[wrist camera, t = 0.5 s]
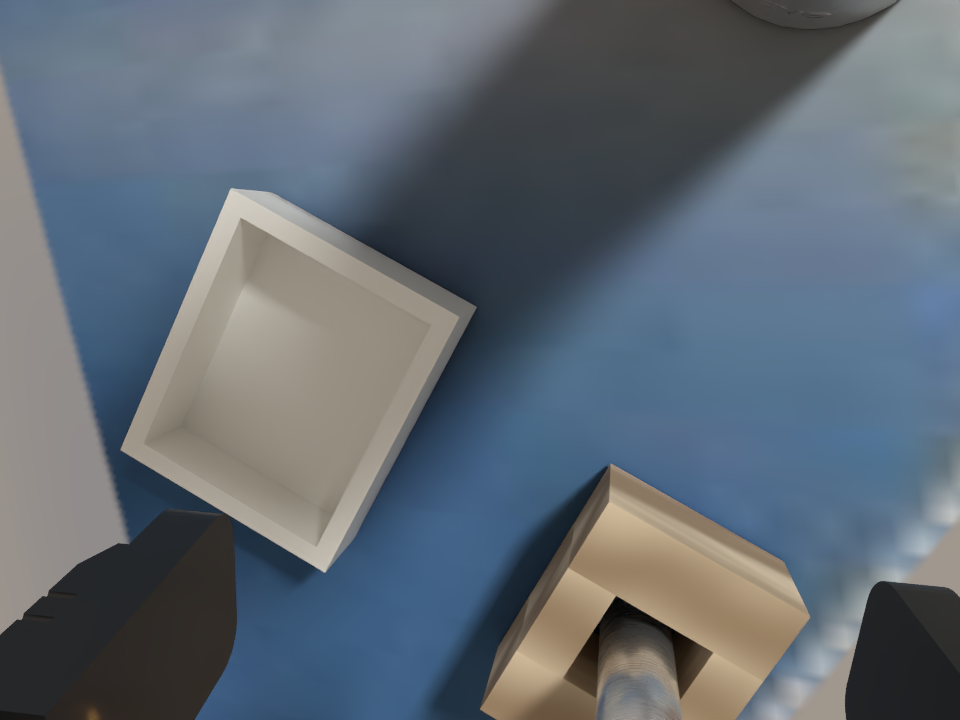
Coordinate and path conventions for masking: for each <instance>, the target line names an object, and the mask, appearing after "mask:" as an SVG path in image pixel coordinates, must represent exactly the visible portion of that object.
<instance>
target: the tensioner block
mask: <svg viewBox="0 0 960 720" xmlns="http://www.w3.org/2000/svg"><path fill="white" fill-rule="evenodd" d="M616 596H617V597H619V598H621V599H623V600H624V601H626V602H628V603H629V604H631V605H633V606H635V607H636V608H638V609H640V610H641V611H643V612H645V613H647V614H648V615H650V616H652V617H653V618H655V619H657V620H659V621H660V622H662V623H664V624H665V625H667V626H669V627H671V628H672V629H674V630H676V631H675V632H674V634H673V635H672V642H673V650H674V658H675V666H676V674H677V682H678V689H679V697H680V705H681V713H682V720H735V719H736V718H737V717H738V715H739V714H740V712H741V711H742V710H743V708H744V707H745V706H746V704H747V703H748V702H749V700H750V699H751V697H752V696H753V695H754V693H755V692H756V691H757V689H758V688H759V687H760V685H761V684H762V682H763V681H764V680H765V678H766V677H767V676H768V674H769V673H770V672H771V670H772V669H773V667H774V666H775V665H776V663H777V662H778V661H779V659H780V658H781V656H782V655H783V654H784V652H785V651H786V650H787V648H788V647H789V646H790V644H791V643H792V641H793V640H794V639H795V637H796V636H797V635H798V633H799V632H800V631H801V629H802V628H803V626H804V625H805V624H806V622H807V621H808V620H809V618H810V615H809V613H808V611H807V609H806V607H805V605H804V603H803V601H802V598H801V596H800V594H799V592H798V590H797V588H796V586H795V584H794V582H793V580H792V578H791V576H790V574H789V572H788V570H787V568H786V566H785V564H784V562H783V561H782V560H780V559H778V558H776V557H775V556H773V555H771V554H769V553H768V552H766V551H764V550H762V549H761V548H759V547H757V546H755V545H754V544H752V543H750V542H748V541H746V540H745V539H743V538H741V537H739V536H738V535H736V534H734V533H732V532H731V531H729V530H727V529H725V528H724V527H722V526H720V525H718V524H717V523H715V522H713V521H711V520H710V519H708V518H706V517H704V516H703V515H701V514H699V513H697V512H695V511H694V510H692V509H690V508H688V507H687V506H685V505H683V504H681V503H680V502H678V501H676V500H674V499H673V498H671V497H669V496H667V495H666V494H664V493H662V492H660V491H659V490H657V489H655V488H653V487H651V486H650V485H648V484H646V483H644V482H643V481H641V480H639V479H637V478H636V477H634V476H632V475H630V474H629V473H627V472H625V471H623V470H622V469H620V468H618V467H616V466H615V465H613V464H610V465H609V467H608V469H607V470H606V472H605V473H604V475H603V477H602V478H601V480H600V482H599V483H598V485H597V487H596V488H595V490H594V491H593V493H592V495H591V496H590V498H589V500H588V501H587V503H586V504H585V506H584V508H583V509H582V511H581V513H580V514H579V516H578V517H577V519H576V521H575V522H574V524H573V526H572V527H571V529H570V531H569V532H568V534H567V535H566V537H565V539H564V540H563V542H562V544H561V545H560V547H559V548H558V550H557V552H556V553H555V555H554V557H553V558H552V560H551V562H550V563H549V565H548V566H547V568H546V570H545V571H544V573H543V575H542V576H541V578H540V579H539V581H538V583H537V584H536V586H535V588H534V589H533V591H532V593H531V594H530V596H529V597H528V599H527V601H526V602H525V604H524V606H523V607H522V609H521V610H520V612H519V614H518V615H517V617H516V619H515V620H514V622H513V624H512V625H511V627H510V628H509V630H508V632H507V633H506V635H505V637H504V638H503V640H502V641H501V643H500V645H499V646H498V649H497V652H496V656H495V659H494V663H493V666H492V670H491V673H490V677H489V680H488V684H487V687H486V690H485V694H484V697H483V701H482V704H481V708H480V710H482V711H483V712H485V713H487V714H488V715H490V716H491V717H493V718H495V719H496V720H595V719H596V698H597V678H598V657H599V637H600V636H599V635H598V634H596V633H594V632H593V631H594V629H595V628H596V626H597V624H598V623H599V621H600V620H601V618H602V617H603V615H604V614H605V612H606V611H607V609H608V607H609V606H610V604H611V603H612V601H613V600H614V598H615V597H616Z"/></svg>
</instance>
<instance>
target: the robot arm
mask: <svg viewBox="0 0 960 720" xmlns="http://www.w3.org/2000/svg"><path fill="white" fill-rule="evenodd" d="M731 1H732V2H734V3H735V4H737V5H738V6H740V7H741V8H743V9H744V10H746V11H747V12H749V13H750V14H752V15H753V16H755V17H757V18H760V19H763V20H765V21H768V22H771V23H773V24H776V25H779V26H784V27H792V28H799V29H820V28H832V27H838V26H842V25H845V24H849V23H852V22H855V21H859V20H862V19H865V18H867V17H869V16H871V15H873V14H875V13H877V12H879V11H881V10H883V9H885V8H887V7H889V6H890V5H892V4H894V3H895V2H896V1H897V0H731ZM236 626H237V608H236V581H235V554H234V532H233V525H232V522H231V519H230V518H229V516H228V515H226V514H218V513H208V512H198V511H188V510H178V509H167V510H165V511H163V512H162V513H161V514H160V515H159V516H158V517H157V518H156V519H155V520H154V521H153V522H152V523H151V524H150V525H148V526H147V527H146V528H145V529H144V530H143V531H142V532H141V533H140V534H139V535H138V536H137V537H136V538H135V539H134V540H133V541H132V542H131V543H130V544H119V543H118V544H116V545H115V546H112V547H110V548H109V549H106V550H105V551H103V552H101V553H99V554H97V555H95V556H93V557H91V558H89V559H87V560H85V561H83V562H81V563H79V564H78V565H76V566H75V567H74V568H73V569H72V570H71V571H70V572H69V573H68V574H67V575H65V576H64V577H63V578H62V579H61V580H60V581H59V582H58V583H57V584H56V585H55V586H53V587H52V588H51V589H50V590H49V593H48V596H47V597H44V596H43V597H41V598H40V599H39V600H38V601H37V602H36V603H35V604H34V605H33V606H31V607H30V608H29V609H28V610H27V611H26V612H25V613H24V616H23V619H22V620H16V621H15V622H14V623H13V624H12V625H11V626H9V628H7V629H6V630H5V631H4V632H3V633H2V634H1V635H0V720H195V718H196V716H197V715H198V713H199V711H200V710H201V708H202V706H203V705H204V703H205V701H206V700H207V698H208V697H209V695H210V693H211V692H212V690H213V688H214V687H215V685H216V683H217V682H218V680H219V678H220V677H221V675H222V673H223V672H224V670H225V668H226V666H227V663H228V661H229V658H230V655H231V652H232V649H233V644H234V640H235V634H236ZM845 712H846V720H960V597H959V596H958V595H957V594H956V593H955V592H954V591H952V590H951V589H949V588H945V587H937V586H927V585H916V584H906V583H896V582H886V581H881V582H878V583H877V584H876V585H874V587H873V588H872V590H871V592H870V594H869V597H868V600H867V604H866V608H865V612H864V616H863V620H862V625H861V629H860V633H859V637H858V641H857V645H856V649H855V653H854V658H853V662H852V666H851V670H850V674H849V678H848V682H847V687H846V695H845Z"/></svg>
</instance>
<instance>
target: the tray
mask: <svg viewBox="0 0 960 720" xmlns="http://www.w3.org/2000/svg"><path fill="white" fill-rule="evenodd" d="M476 308H477V307H476V306H474V305H472V304H471V303H469V302H467V301H465V300H464V299H462V298H460V297H458V296H456V295H455V294H453V293H451V292H449V291H447V290H446V289H444V288H442V287H440V286H439V285H437V284H435V283H433V282H431V281H430V280H428V279H426V278H424V277H422V276H421V275H419V274H417V273H415V272H413V271H412V270H410V269H408V268H406V267H405V266H403V265H401V264H399V263H397V262H396V261H394V260H392V259H390V258H388V257H387V256H385V255H383V254H381V253H380V252H378V251H376V250H374V249H372V248H371V247H369V246H367V245H365V244H363V243H362V242H360V241H358V240H356V239H354V238H353V237H351V236H349V235H347V234H346V233H344V232H342V231H340V230H338V229H337V228H335V227H333V226H331V225H329V224H328V223H326V222H324V221H322V220H321V219H319V218H317V217H315V216H313V215H312V214H310V213H308V212H306V211H304V210H303V209H301V208H299V207H297V206H296V205H294V204H292V203H290V202H288V201H287V200H285V199H283V198H281V197H279V196H278V195H276V194H274V193H272V192H262V191H252V190H241V189H230V192H229V194H228V197H227V199H226V201H225V204H224V206H223V208H222V211H221V213H220V215H219V218H218V220H217V223H216V225H215V227H214V230H213V232H212V234H211V237H210V239H209V242H208V244H207V246H206V249H205V251H204V253H203V256H202V258H201V260H200V263H199V265H198V268H197V270H196V272H195V275H194V277H193V279H192V282H191V284H190V286H189V289H188V291H187V294H186V296H185V298H184V301H183V303H182V305H181V308H180V310H179V312H178V315H177V317H176V320H175V322H174V324H173V327H172V329H171V331H170V334H169V336H168V338H167V341H166V343H165V346H164V348H163V350H162V353H161V355H160V357H159V360H158V362H157V364H156V367H155V369H154V372H153V374H152V376H151V379H150V381H149V383H148V386H147V388H146V390H145V393H144V395H143V398H142V400H141V402H140V405H139V407H138V409H137V412H136V414H135V416H134V419H133V421H132V424H131V426H130V428H129V431H128V433H127V435H126V438H125V440H124V442H123V445H122V447H121V451H123V452H124V453H126V454H128V455H129V456H131V457H133V458H134V459H136V460H138V461H139V462H141V463H143V464H144V465H146V466H148V467H149V468H151V469H153V470H154V471H156V472H158V473H159V474H161V475H163V476H164V477H166V478H168V479H169V480H171V481H173V482H174V483H176V484H178V485H179V486H181V487H183V488H184V489H186V490H188V491H189V492H191V493H193V494H194V495H196V496H198V497H199V498H201V499H203V500H204V501H206V502H208V503H209V504H211V505H213V506H214V507H216V508H218V509H219V510H221V511H223V512H224V513H226V514H228V515H229V516H231V517H233V518H234V519H236V520H238V521H239V522H241V523H243V524H244V525H246V526H248V527H249V528H251V529H253V530H254V531H256V532H258V533H259V534H261V535H263V536H264V537H266V538H268V539H269V540H271V541H273V542H274V543H276V544H278V545H279V546H281V547H283V548H284V549H286V550H288V551H290V552H291V553H293V554H295V555H296V556H298V557H300V558H301V559H303V560H305V561H306V562H308V563H310V564H311V565H313V566H315V567H316V568H318V569H320V570H321V571H323V572H326V571H327V570H328V569H329V568H330V566H331V565H332V564H333V563H334V562H335V561H336V559H337V558H338V557H339V556H340V555H341V553H342V552H343V551H344V550H345V549H346V548H347V546H348V545H349V544H350V543H351V542H352V541H353V539H354V538H355V536H356V534H357V532H358V531H359V529H360V527H361V525H362V523H363V521H364V519H365V517H366V515H367V514H368V512H369V510H370V508H371V506H372V504H373V502H374V500H375V498H376V497H377V495H378V493H379V491H380V489H381V487H382V485H383V483H384V481H385V480H386V478H387V476H388V474H389V472H390V470H391V468H392V466H393V464H394V463H395V461H396V459H397V457H398V455H399V453H400V451H401V449H402V448H403V446H404V444H405V442H406V440H407V438H408V436H409V434H410V432H411V431H412V429H413V427H414V425H415V423H416V421H417V419H418V417H419V415H420V414H421V412H422V410H423V408H424V406H425V404H426V402H427V400H428V398H429V397H430V395H431V393H432V391H433V389H434V387H435V385H436V383H437V381H438V380H439V378H440V376H441V374H442V372H443V370H444V368H445V366H446V364H447V363H448V361H449V359H450V357H451V355H452V353H453V351H454V349H455V348H456V346H457V344H458V342H459V340H460V338H461V336H462V334H463V332H464V331H465V329H466V327H467V325H468V323H469V321H470V319H471V317H472V315H473V314H474V312H475V310H476Z"/></svg>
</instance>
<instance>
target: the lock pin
mask: <svg viewBox="0 0 960 720" xmlns="http://www.w3.org/2000/svg"><path fill="white" fill-rule="evenodd" d="M595 720H682V713H681V705H680V697H679V689H678V682H677V674H676V666H675V658H674V650H673V642H672V634H671V627H669V626H667V625H665V624H664V623H662V622H660V621H659V620H657V619H655V618H653V617H652V616H650V615H648V614H647V613H645V612H643V611H641V610H640V609H638V608H636V607H635V606H633V605H631V604H629V603H628V602H626V601H624V600H623V599H621V598H619V597H617V596H616V597H615V598H614V600H613V601H612V603H611V604H610V606H609V607H608V609H607V611H606V612H605V614H604V615H603V617H602V618H601V620H600V637H599V657H598V678H597V698H596V719H595Z"/></svg>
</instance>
